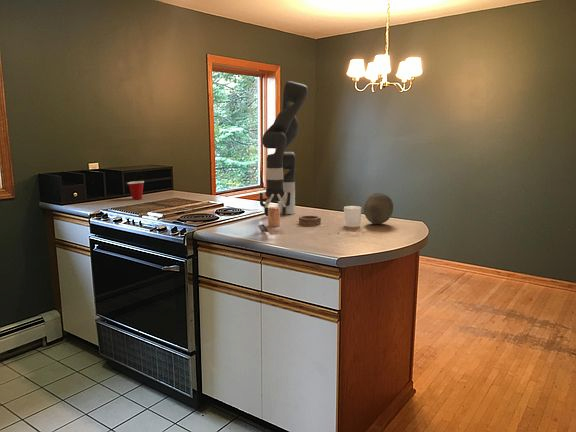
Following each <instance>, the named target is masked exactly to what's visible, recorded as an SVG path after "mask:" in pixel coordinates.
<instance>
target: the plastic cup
mask: <svg viewBox="0 0 576 432" xmlns="http://www.w3.org/2000/svg"><path fill="white" fill-rule="evenodd" d="M127 185H128V188H129V191H130V194H131V199H132V200H134V201H136V200H137V201H138V200H139V201H140V200H142V199H143V191H144V185H145V181H144V180H137V181H129V182H127Z"/></svg>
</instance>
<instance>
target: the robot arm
mask: <svg viewBox="0 0 576 432" xmlns="http://www.w3.org/2000/svg"><path fill="white" fill-rule="evenodd" d="M282 91H283V92H282V105H281V106H282V107H281V111H280V112H279V113H278V114H277V116H276V118H275V120H274V122H273V124H272V125H270V126H269V128H268V129H266V131H265V132H264V133H263V134H262V140H261V143H262V146H263V147H264V148H266V149H275V151H274V153H271V154H268V155H267V156H266V170H265V171H266V172H265V179H266V180H265V181H266V182H265V186H266V187H265V191H264V192H259V193H258V196H259V205H260V207H262V208H263V210H264V211H263V212H264V215H265V216H266V217H268V208H269V205H270V203H271V202H277V207H279V208H280V215H281V216H285V215H292V214H295V213H296V208H295V207H296V199H295V198H296V162H297V161H296V153H295V152H294V151H286V149H287V148H288V147H289V146H290V145H291V144H292V143H293V142H294V141H295V139H296V138H297V135H298V131H299V122H298V118H297V116H296V115H297V114H298V113H299V112H300V110H301V108H302V107H303V105H304V104H305V103H306V100H307V98H308V95H309V94H308V93H309V88H308V86H307V85H305V84H303V83H300V82H296V81H293V80H291V81H290V80H288V81H286V82H285V84H284V86H283V90H282ZM284 170H288V171H286V172H285V173H284ZM265 196H266V197H267V199H266V200H265V203H264V198H265Z"/></svg>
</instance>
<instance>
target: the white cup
mask: <svg viewBox="0 0 576 432" xmlns="http://www.w3.org/2000/svg"><path fill="white" fill-rule="evenodd" d="M343 220H344V221H343V222H344V227H346V228H347V227H348V228H358V227H360V226H361V221H362V207H361V206H359V205H358V206H357V205H346V206H344V207H343Z"/></svg>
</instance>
